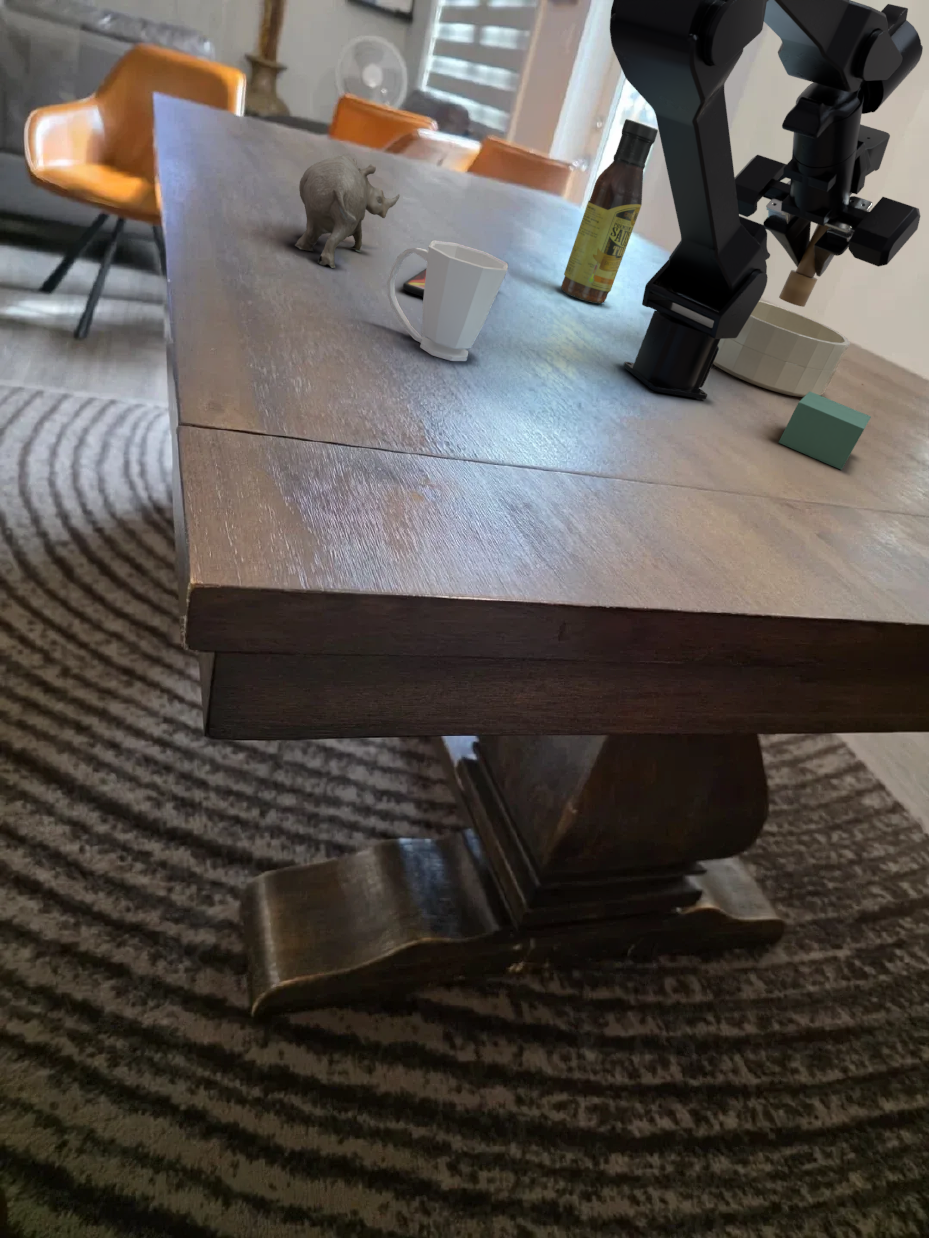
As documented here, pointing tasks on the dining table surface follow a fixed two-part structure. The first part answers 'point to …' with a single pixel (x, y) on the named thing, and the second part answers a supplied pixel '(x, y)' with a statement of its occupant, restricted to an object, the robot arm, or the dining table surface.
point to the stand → (824, 429)
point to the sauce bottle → (609, 217)
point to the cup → (451, 296)
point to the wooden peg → (803, 274)
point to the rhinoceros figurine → (338, 203)
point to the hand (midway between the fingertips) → (811, 270)
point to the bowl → (783, 352)
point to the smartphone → (416, 284)
